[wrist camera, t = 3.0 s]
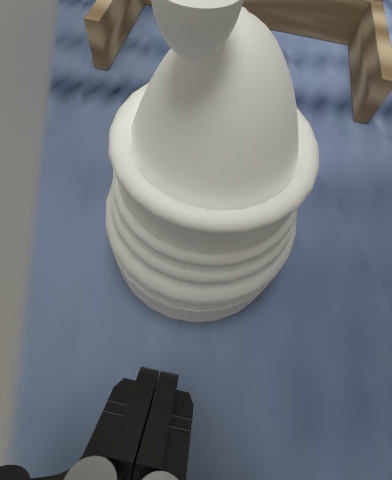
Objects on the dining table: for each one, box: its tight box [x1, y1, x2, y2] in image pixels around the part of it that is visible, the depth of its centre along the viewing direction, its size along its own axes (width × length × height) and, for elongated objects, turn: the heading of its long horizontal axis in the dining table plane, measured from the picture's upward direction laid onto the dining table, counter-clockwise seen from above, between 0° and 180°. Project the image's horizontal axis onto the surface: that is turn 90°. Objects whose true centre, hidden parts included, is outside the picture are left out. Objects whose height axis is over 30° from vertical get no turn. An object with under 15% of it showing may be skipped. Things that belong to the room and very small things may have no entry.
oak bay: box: [84, 0, 392, 124], centre depth 35 cm, size 16×31×5 cm, turn 79°
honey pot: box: [106, 0, 319, 322], centre depth 17 cm, size 13×13×18 cm
